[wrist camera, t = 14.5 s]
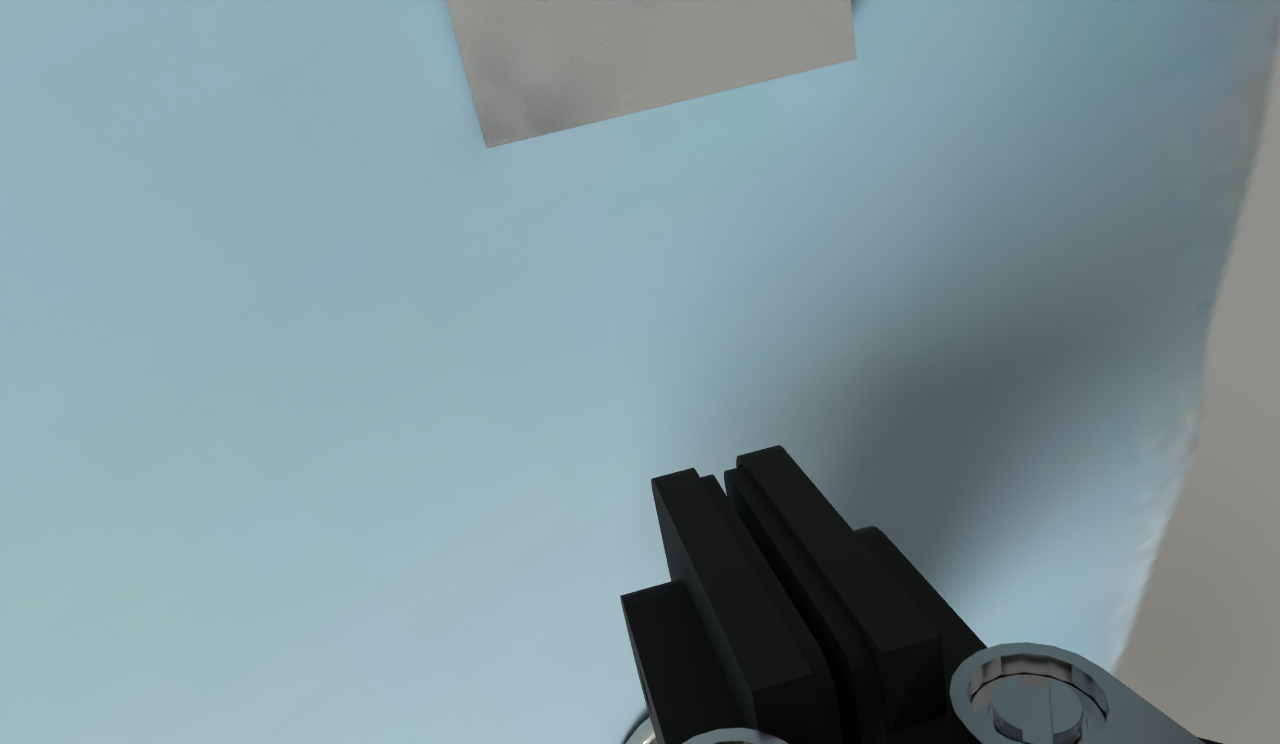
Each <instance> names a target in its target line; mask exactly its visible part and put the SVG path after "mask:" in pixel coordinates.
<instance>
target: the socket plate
mask: <svg viewBox="0 0 1280 744" xmlns="http://www.w3.org/2000/svg"><path fill="white" fill-rule="evenodd" d="M446 3H447V6H448V10H449V14H450V17H451V21H452V25H453V28H454V32H455V36H456V39H457V43H458V46H459V50H460V54H461V57H462V61H463V65H464V68H465V72H466V76H467V79H468V83H469V87H470V90H471V94H472V98H473V101H474V105H475V109H476V112H477V116H478V120H479V123H480V127H481V130H482V134H483V138H484V141H485V144H486V148H491V147H495V146H499V145H503V144H507V143H511V142H516V141H520V140H524V139H528V138H532V137H536V136H540V135H544V134H549V133H553V132H557V131H561V130H565V129H569V128H573V127H578V126H582V125H586V124H590V123H594V122H598V121H602V120H606V119H611V118H615V117H619V116H623V115H627V114H631V113H635V112H640V111H644V110H648V109H652V108H656V107H660V106H664V105H668V104H673V103H677V102H681V101H685V100H689V99H693V98H697V97H701V96H706V95H710V94H714V93H718V92H722V91H726V90H730V89H735V88H739V87H743V86H747V85H751V84H755V83H759V82H763V81H768V80H772V79H776V78H780V77H784V76H788V75H792V74H797V73H801V72H805V71H809V70H813V69H817V68H821V67H825V66H830V65H834V64H838V63H842V62H846V61H850V60H854V59H857V58H856V48H855V38H854V27H853V17H852V7H851V0H446Z"/></svg>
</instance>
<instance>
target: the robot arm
mask: <svg viewBox="0 0 1280 744" xmlns="http://www.w3.org/2000/svg"><path fill="white" fill-rule="evenodd" d="M736 466H737V468H735V469H731V470H727V471H725V472H724V481H725V487H726V493H727V496H726V494H725V493H724V491H723V489H722V488H721V486H720V484H719V483H718V481H717V480H716V478H715V476H714V475H708V476H705V477H701V478H700V477H699V475H698V473H697V472H696V470H695V469H694V468H690V469H687V470H683V471H679V472H675V473H672V474H668V475H664V476H660V477H656V478H653V479H651V483H652V490H653V496H654V501H655V505H656V510H657V515H658V520H659V525H660V529H661V534H662V539H663V544H664V549H665V553H666V558H667V563H668V568H669V573H670V577H671V582H668V583H664V584H661V585H657V586H654V587H650V588H646V589H643V590H639V591H636V592H632V593H628V594H625V595H621V596H620V597H621V603H622V607H623V612H624V616H625V620H626V625H627V629H628V633H629V637H630V642H631V646H632V650H633V654H634V658H635V662H636V666H637V670H638V674H639V678H640V682H641V686H642V690H643V694H644V697H645V701H646V705H647V708H648V712H649V716H650V717H649V718H648V719H647V720H645V721H644V722H643V723H642V724H641V725H640V726H639V727H638V728H637V729H636V731H635V732H634V733H633V735H632V736H631V737H630V739H629V740H628V741H627V742H626V744H1222V743H1218V742H1214V741H1210V740H1206V739H1202V738H1199V737H1196V736H1194V735H1193V734H1192V733H1190V732H1189V731H1187V730H1186V729H1185V728H1183V727H1182V726H1180V725H1179V724H1178V723H1177V722H1175V721H1174V720H1172V719H1171V718H1169V717H1168V716H1167V715H1165V714H1164V713H1163V712H1161V711H1160V710H1159V709H1157V708H1156V707H1155V706H1153V705H1152V704H1151V703H1149V702H1148V701H1146V700H1145V699H1144V698H1142V697H1141V696H1140V695H1138V694H1137V693H1135V692H1134V691H1133V690H1131V689H1130V688H1129V687H1127V686H1126V685H1125V684H1123V683H1122V682H1120V681H1119V680H1118V679H1116V678H1115V677H1114V676H1112V675H1111V674H1110V673H1108V672H1107V671H1105V670H1104V669H1103V668H1101V667H1100V666H1098V665H1096V664H1094V663H1093V662H1091V661H1089V660H1087V659H1086V658H1084V657H1082V656H1080V655H1079V654H1076V653H1073V652H1070V651H1067V650H1064V649H1061V648H1058V647H1055V646H1050V645H1042V644H1035V643H1027V642H1025V643H1009V644H1000V645H996V646H993V647H990V648H987V647H986V646H985V645H984V643H983V642H982V641H981V640H980V639H979V638H978V637H977V636H976V635H975V633H974V632H973V631H972V630H971V629H970V628H969V627H968V626H967V625H966V624H965V622H964V621H963V620H962V619H961V618H960V617H959V616H958V615H957V614H956V613H955V611H954V610H953V609H952V608H951V607H950V606H949V605H948V604H947V603H946V601H945V600H944V599H943V598H942V597H941V596H940V595H939V594H938V593H937V592H936V590H935V589H934V588H933V587H932V586H931V585H930V584H929V583H928V582H927V581H926V579H925V578H924V577H923V576H922V575H921V574H920V573H919V572H918V571H917V569H916V568H915V567H914V566H913V565H912V564H911V563H910V562H909V561H908V560H907V558H906V557H905V556H904V555H903V554H902V553H901V552H900V551H899V550H898V549H897V547H896V546H895V545H894V544H893V543H892V542H891V541H890V540H889V539H888V537H887V536H886V535H885V534H884V533H883V532H882V531H880V530H879V529H878V528H877V527H873V526H869V527H865V528H862V529H858V530H855V531H853V530H852V529H851V528H850V526H849V525H848V524H847V523H846V522H845V521H844V519H843V518H842V517H841V516H840V515H839V513H838V512H837V511H836V510H835V509H834V507H833V506H832V505H831V504H830V503H829V502H828V500H827V499H826V498H825V497H824V496H823V494H822V493H821V492H820V491H819V490H818V489H817V487H816V486H815V485H814V484H813V483H812V481H811V480H810V479H809V478H808V477H807V476H806V474H805V473H804V472H803V471H802V470H801V468H800V467H799V466H798V465H797V464H796V463H795V461H794V460H793V459H792V458H791V457H790V455H789V454H788V453H787V452H786V451H785V449H784V448H783V447H781V446H780V445H778V446H774V447H770V448H766V449H762V450H759V451H755V452H751V453H747V454H744V455H740V456H737V459H736Z"/></svg>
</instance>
